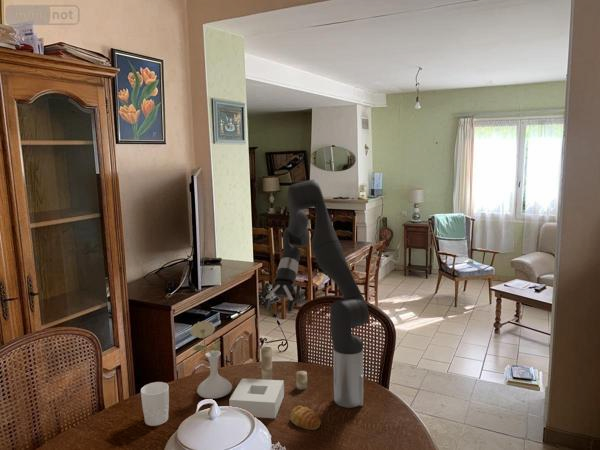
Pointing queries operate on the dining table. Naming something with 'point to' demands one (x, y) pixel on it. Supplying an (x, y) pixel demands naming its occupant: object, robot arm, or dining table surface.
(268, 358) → the tall birch pin
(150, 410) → the white cup
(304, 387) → the short birch pin
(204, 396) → the flower in vase
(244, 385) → the guide block
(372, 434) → the dining table surface
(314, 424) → the pastry
